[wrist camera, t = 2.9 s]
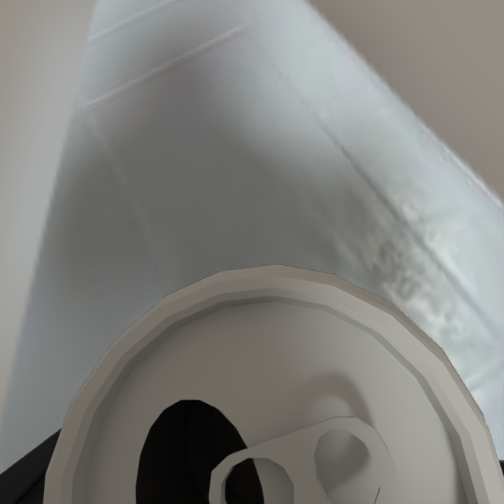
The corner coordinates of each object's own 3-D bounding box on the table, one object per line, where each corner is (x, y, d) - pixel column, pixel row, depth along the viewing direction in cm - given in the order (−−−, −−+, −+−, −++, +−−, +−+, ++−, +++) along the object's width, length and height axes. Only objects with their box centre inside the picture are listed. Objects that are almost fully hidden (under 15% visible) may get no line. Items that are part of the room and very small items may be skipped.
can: (177, 365, 17) (-20, 299, 6) (336, 321, 17) (422, 177, 6) (213, 563, 14) (-32, 1097, 3) (402, 508, 15) (769, 849, 3)
